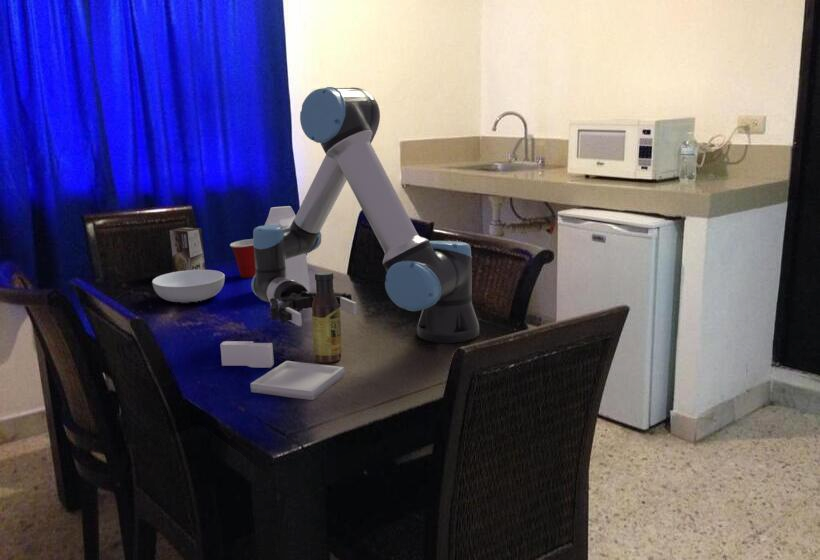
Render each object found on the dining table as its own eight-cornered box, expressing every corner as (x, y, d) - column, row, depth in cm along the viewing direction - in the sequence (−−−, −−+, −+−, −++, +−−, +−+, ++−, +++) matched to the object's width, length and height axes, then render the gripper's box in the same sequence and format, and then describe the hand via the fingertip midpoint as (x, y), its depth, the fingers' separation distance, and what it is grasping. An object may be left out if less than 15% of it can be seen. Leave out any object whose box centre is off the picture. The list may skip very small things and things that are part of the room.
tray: (344, 375, 156) (344, 367, 156) (312, 400, 143) (312, 391, 143) (286, 368, 161) (286, 360, 161) (251, 392, 148) (250, 383, 148)
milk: (301, 284, 236) (296, 203, 230) (310, 292, 226) (304, 207, 220) (264, 288, 232) (257, 206, 226) (271, 297, 222) (264, 210, 216)
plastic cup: (231, 274, 254) (228, 239, 251) (263, 271, 257) (260, 237, 254) (233, 281, 243) (230, 245, 241) (266, 277, 246) (264, 242, 244)
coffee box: (206, 274, 254) (202, 228, 250) (192, 278, 249) (187, 231, 245) (188, 272, 259) (183, 226, 255) (173, 276, 254) (168, 229, 250)
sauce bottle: (337, 364, 162) (332, 276, 158) (310, 363, 164) (304, 276, 159) (346, 355, 169) (341, 270, 164) (319, 353, 170) (314, 269, 165)
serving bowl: (140, 307, 215) (137, 284, 213) (178, 289, 234) (176, 268, 233) (205, 310, 210) (202, 286, 208) (238, 292, 229) (236, 270, 228)
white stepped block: (208, 367, 165) (205, 342, 164) (251, 354, 173) (249, 330, 172) (246, 382, 155) (244, 356, 154) (290, 368, 163) (288, 343, 161)
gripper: (334, 301, 187) (377, 320, 170) (240, 319, 174) (276, 341, 156) (332, 272, 185) (376, 288, 168) (237, 288, 172) (274, 307, 155)
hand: (328, 314), depth 162 cm, fingers open, 13 cm apart
